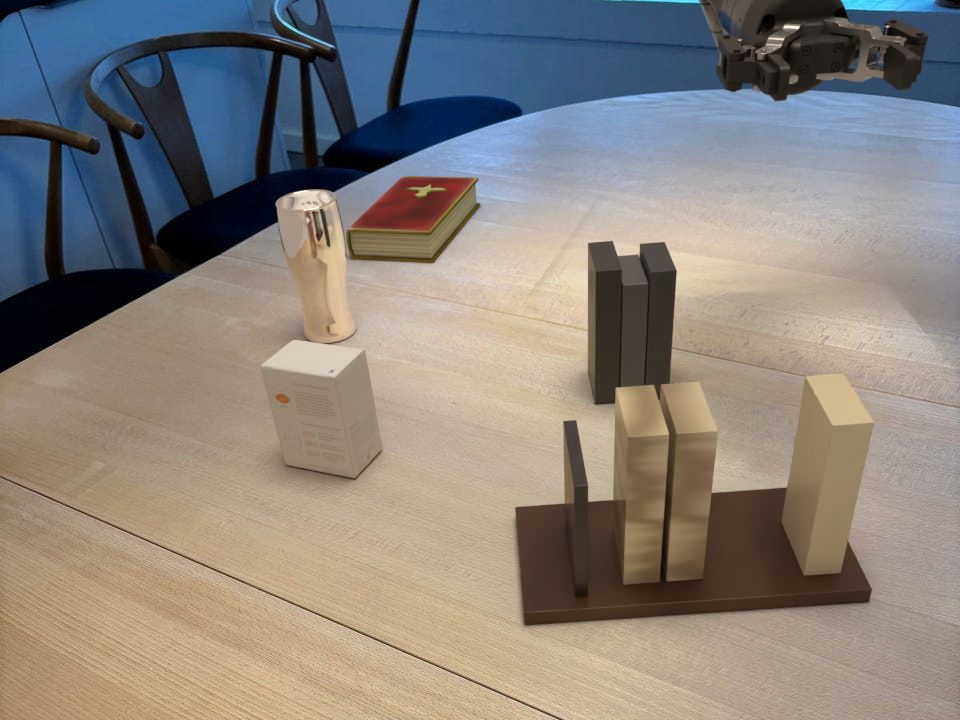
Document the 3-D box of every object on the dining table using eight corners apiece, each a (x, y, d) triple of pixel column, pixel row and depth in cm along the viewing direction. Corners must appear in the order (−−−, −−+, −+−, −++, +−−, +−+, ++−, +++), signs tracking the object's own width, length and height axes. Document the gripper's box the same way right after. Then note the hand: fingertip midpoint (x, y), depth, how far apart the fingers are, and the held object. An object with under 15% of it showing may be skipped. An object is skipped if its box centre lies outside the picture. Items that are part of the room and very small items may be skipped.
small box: (384, 450, 95) (367, 348, 87) (355, 480, 91) (335, 376, 84) (314, 436, 97) (292, 337, 90) (283, 465, 94) (258, 364, 87)
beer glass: (371, 325, 115) (351, 193, 105) (333, 350, 111) (308, 214, 101) (327, 314, 119) (303, 185, 108) (288, 338, 114) (259, 205, 104)
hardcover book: (349, 258, 131) (344, 226, 128) (403, 203, 146) (400, 173, 143) (433, 262, 128) (429, 230, 125) (480, 205, 143) (478, 175, 140)
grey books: (658, 366, 103) (665, 236, 94) (668, 398, 98) (677, 264, 89) (587, 371, 103) (587, 242, 94) (594, 404, 98) (595, 271, 89)
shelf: (818, 496, 84) (848, 340, 74) (869, 601, 73) (911, 436, 64) (515, 518, 85) (506, 366, 75) (524, 625, 74) (515, 465, 65)
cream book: (815, 519, 79) (844, 372, 71) (840, 573, 74) (874, 422, 65) (781, 522, 80) (805, 375, 71) (803, 576, 74) (832, 425, 66)
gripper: (701, -17, 77) (748, 25, 65) (883, -34, 76) (965, 5, 64) (694, 89, 82) (737, 147, 70) (865, 74, 82) (938, 129, 70)
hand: (846, 79), depth 67 cm, fingers open, 8 cm apart
